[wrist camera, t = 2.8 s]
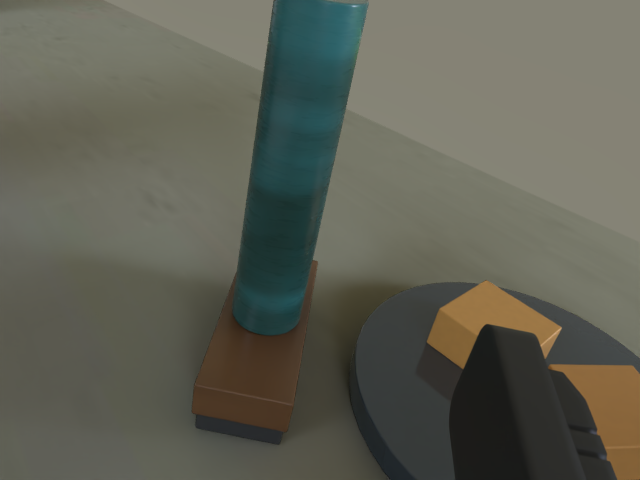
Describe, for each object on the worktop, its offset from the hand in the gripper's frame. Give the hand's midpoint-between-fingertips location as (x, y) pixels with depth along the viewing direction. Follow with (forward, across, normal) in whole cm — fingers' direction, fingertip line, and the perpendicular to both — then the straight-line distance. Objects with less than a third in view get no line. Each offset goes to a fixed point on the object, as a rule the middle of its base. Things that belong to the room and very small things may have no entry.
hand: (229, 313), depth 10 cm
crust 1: (+13, -10, +10) cm, 20 cm away
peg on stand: (+11, 0, +12) cm, 16 cm away
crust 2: (+10, -14, +11) cm, 20 cm away
